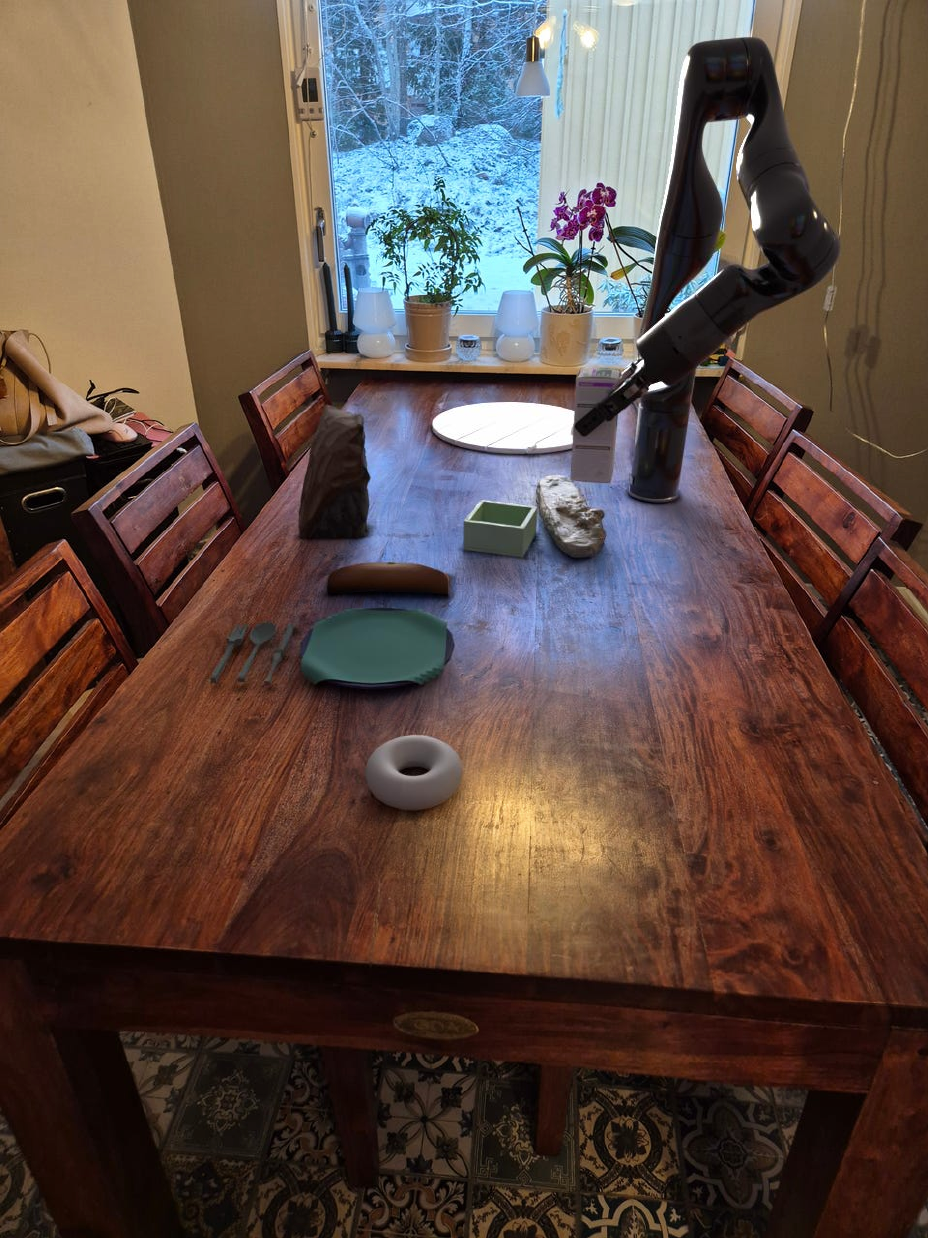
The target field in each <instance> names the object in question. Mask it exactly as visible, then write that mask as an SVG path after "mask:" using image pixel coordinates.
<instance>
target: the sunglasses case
mask: <svg viewBox="0 0 928 1238" xmlns="http://www.w3.org/2000/svg"><path fill="white" fill-rule="evenodd" d="M450 581H451V577H450V574H448V573H446V572H444V571H441V570H439V569H437V568H434V567H431V566H428V565H425V564H420V563H415V562H395V561H371V562H370V561H369V562H367V561H365V562H360V563H354V564H350V565H345V566H342V567H339V568H336V569H333V570H332V571H331V572H330V573H329V574H328V577H327V581H326V592H327V594H339V593H340V594H344V593H345V594H347V593H357V592H360V593H365V592H376V593H377V592H378V593H379V592H380V593H409V594H410V593H411V594H412V593H413V594H416V593H417V594H440V595H445V594H446V596H447V597H450V586H451V585H450V584H451V582H450Z"/></svg>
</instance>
